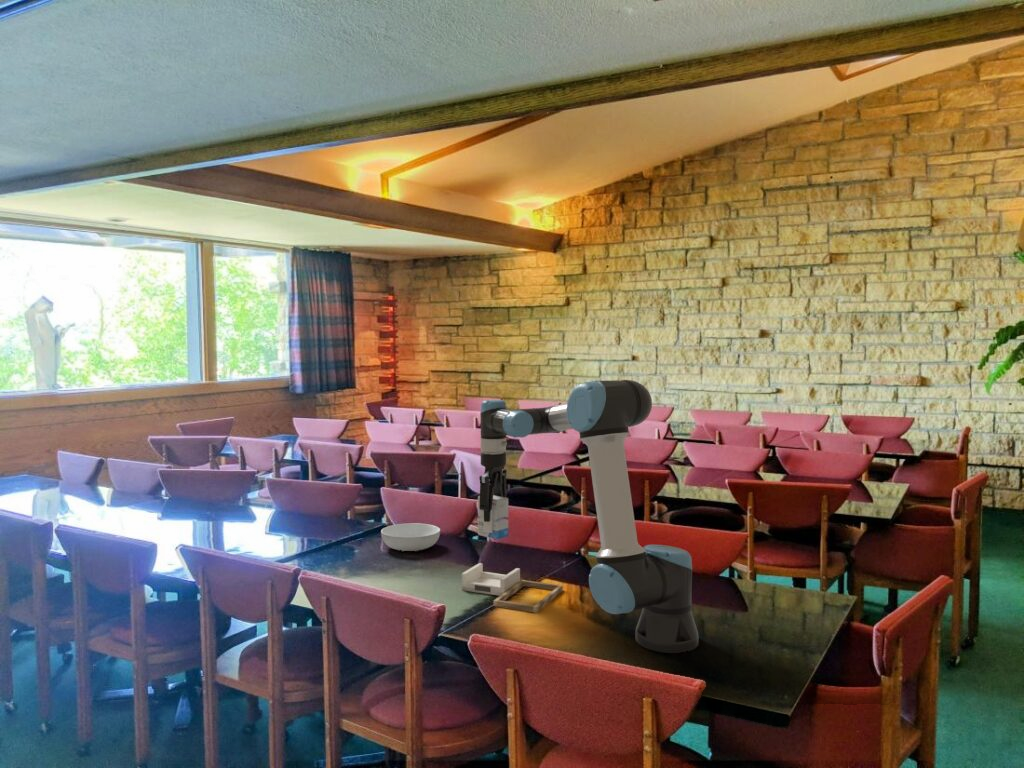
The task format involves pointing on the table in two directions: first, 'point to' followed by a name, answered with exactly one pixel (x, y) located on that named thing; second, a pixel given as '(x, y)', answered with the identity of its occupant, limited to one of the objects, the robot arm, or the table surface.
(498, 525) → the ink box
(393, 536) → the serving bowl
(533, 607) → the tray frame
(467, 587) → the tray
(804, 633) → the table surface
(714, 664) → the table surface
